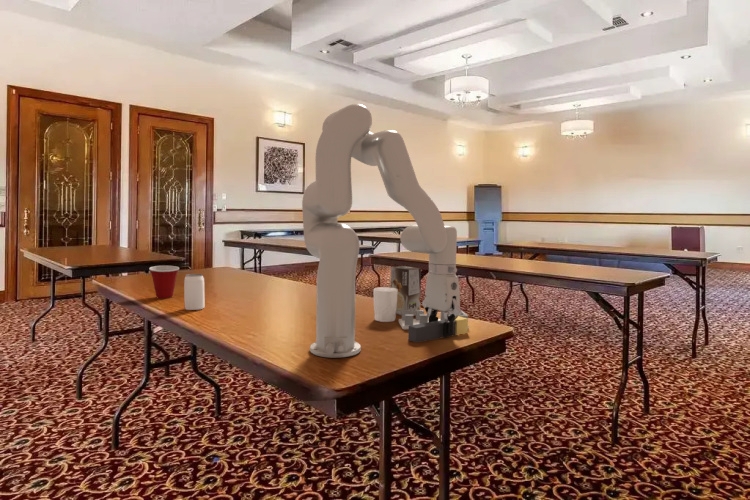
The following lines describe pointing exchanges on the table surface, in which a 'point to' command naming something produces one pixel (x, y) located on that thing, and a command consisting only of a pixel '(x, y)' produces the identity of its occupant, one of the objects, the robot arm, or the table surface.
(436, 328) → the gray box yellow end
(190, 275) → the can
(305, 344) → the table surface
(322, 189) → the robot arm
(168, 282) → the plastic cup
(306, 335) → the table surface
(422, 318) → the clip rail
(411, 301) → the coffee box
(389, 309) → the white cup
